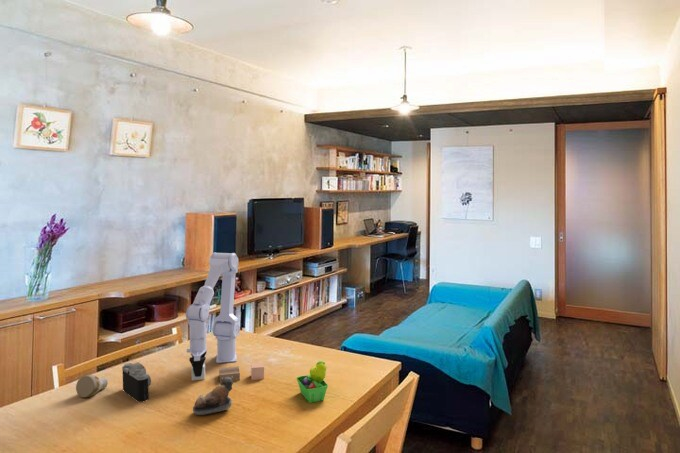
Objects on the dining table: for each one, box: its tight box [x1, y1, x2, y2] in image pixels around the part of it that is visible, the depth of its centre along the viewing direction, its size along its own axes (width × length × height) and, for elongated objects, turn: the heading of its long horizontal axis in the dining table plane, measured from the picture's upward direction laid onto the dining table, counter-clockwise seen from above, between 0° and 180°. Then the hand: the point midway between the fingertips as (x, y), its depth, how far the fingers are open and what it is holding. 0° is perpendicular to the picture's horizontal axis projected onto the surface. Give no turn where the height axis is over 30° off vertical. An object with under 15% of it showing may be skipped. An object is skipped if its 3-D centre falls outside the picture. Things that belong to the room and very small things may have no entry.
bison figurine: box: [192, 377, 234, 416], centre depth 136 cm, size 12×7×10 cm, turn 114°
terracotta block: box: [250, 362, 265, 381], centre depth 163 cm, size 4×4×4 cm
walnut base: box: [218, 366, 241, 383], centre depth 162 cm, size 7×7×3 cm
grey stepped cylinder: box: [75, 374, 109, 398], centre depth 149 cm, size 8×10×10 cm
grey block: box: [191, 362, 206, 381], centre depth 162 cm, size 4×4×4 cm
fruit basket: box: [296, 360, 329, 404], centre depth 147 cm, size 11×9×11 cm
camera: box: [121, 362, 152, 403], centre depth 149 cm, size 15×7×10 cm, turn 47°
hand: (198, 373), depth 162 cm, fingers closed on grey block, 4 cm apart
